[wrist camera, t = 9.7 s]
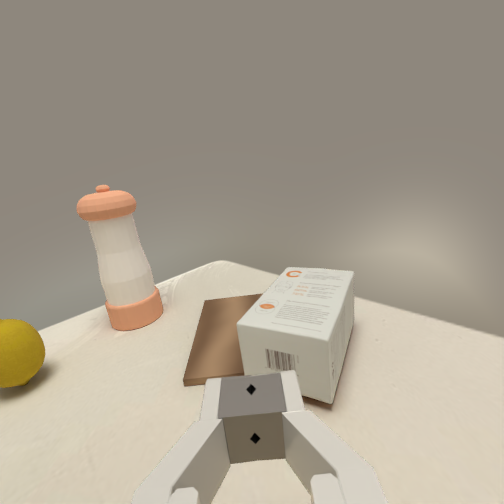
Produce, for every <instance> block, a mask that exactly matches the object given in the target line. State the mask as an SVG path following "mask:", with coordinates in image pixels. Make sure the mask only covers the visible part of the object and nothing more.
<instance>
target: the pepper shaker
mask: <svg viewBox="0 0 504 504" xmlns="http://www.w3.org/2000/svg"><path fill="white" fill-rule="evenodd" d="M109 189H110V188H109V187H108V186H107V185H99V186H97V187H96V191H97V192H98V193H93V194H89V195H86V196H84V197H83V198H81V199H80V200H79V202H78V204H77V213H78V214H79V216H80V217H81V218H82V219H83V220H87V221H88V224H89V228H90V231H91V235H92V238H93V241H94V244H95V248H96V252H97V258H98V267H99V275H100V281H101V284H102V286H103V289H104V292H105V295H106V298H107V300H106V303H105V305H106V309H107V312H108V315H109V318H110V321H111V324H112V327H113V328H114V329H116V330H122V331H125V330H133V329H137V328H141V327H143V326H146V325H148V324H150V323H152V322H154V321H155V320H156V319H158V318H159V317H160V316H161V314H162V313H163V306H162V302H161V298H160V294H159V290H158V289H157V287H156V286H154V281H153V276H152V272H151V267H150V265H149V263H148V260H147V258H146V256H145V253H144V251H143V249H142V246H141V244H140V241H139V237H138V233H137V229H136V226H135V222H134V218H133V215H132V212H134V211H135V209H136V201H135V199H134V197H133V196H132V195H131V194H129V193H127V192H124V191H121V190H117V191H109Z"/></svg>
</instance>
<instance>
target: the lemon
mask: <svg viewBox="0 0 504 504" xmlns="http://www.w3.org/2000/svg"><path fill="white" fill-rule="evenodd" d="M44 358H45V347H44V343H43V341H42V338H41V336H40V335H39V333H38V332H37V331H36V330H35V329H34V327H32V326H31V325H30V324H28V323H27V322H25V321H22V320H16V319H6V320H1V319H0V387H1V388H7V387H13V386H17V385H19V386H23V385H26V384H27V383H28V382H29V380H30V378H32V377H33V376H34V375H35V374H36V373H37V372H38V371H39V369H40V368H41V366H42V364H43V362H44Z"/></svg>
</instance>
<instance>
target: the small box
mask: <svg viewBox="0 0 504 504" xmlns="http://www.w3.org/2000/svg"><path fill="white" fill-rule="evenodd" d="M353 322H354V272H353V271H341V270H330V269H321V268H296V267H295V268H294V267H288V268H286V269H285V270H284V272H283V273H282V274H281V275H280V276H279V277H278V278H277V279H276V280H275V281H274V282H273V284H272V285H271V286H270V287H269V288H268V289H267V290H266V291H265V292H264V293H263V295H262V296H261V297H260V298H259V299H258V300H257V301H256V302H255V303H254V304H253V306H252V307H251V308H250V309H249V310H248V311H247V312H246V313H245V314H244V316H243V317H242V318H241V319H240V320H239V321H238V322H237V332H238V338H239V345H240V350H241V356H242V362H243V368H244V374H245V375H256V374H265V373H274V372H281V371H289V370H295V372H296V375H297V379H298V383H299V387H300V391H301V395H303V396H307V397H310V398H313V399H316V400H320V401H323V402H325V403H328V404H332V402H333V399H334V396H335V391H336V388H337V384H338V380H339V377H340V373H341V370H342V366H343V362H344V358H345V354H346V350H347V346H348V342H349V338H350V334H351V331H352V327H353Z"/></svg>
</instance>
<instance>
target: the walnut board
mask: <svg viewBox="0 0 504 504" xmlns="http://www.w3.org/2000/svg"><path fill="white" fill-rule="evenodd" d="M262 295H263V294H256V295H247V296H239V297H230V298H222V299H213V300H205V302H204V306H203V309H202V313H201V316H200V320H199V324H198V327H197V331H196V335H195V338H194V342H193V345H192V349H191V353H190V356H189V360H188V363H187V367H186V371H185V374H184V378H183V382H184V386H192V385H200V384H205V383H206V381H207V379H210V378H222V377H232V376H245V374H244V368H243V362H242V356H241V350H240V345H239V338H238V332H237V322H238V321H239V320H240V319H241V318H242V317H243V316H244V314H245V313H246V312H247V311H248V310H249V309H250V308H251V307H252V306H253V304H254V303H255V302H256V301H257V300H258V299H259V298H260V297H261V296H262Z"/></svg>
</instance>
